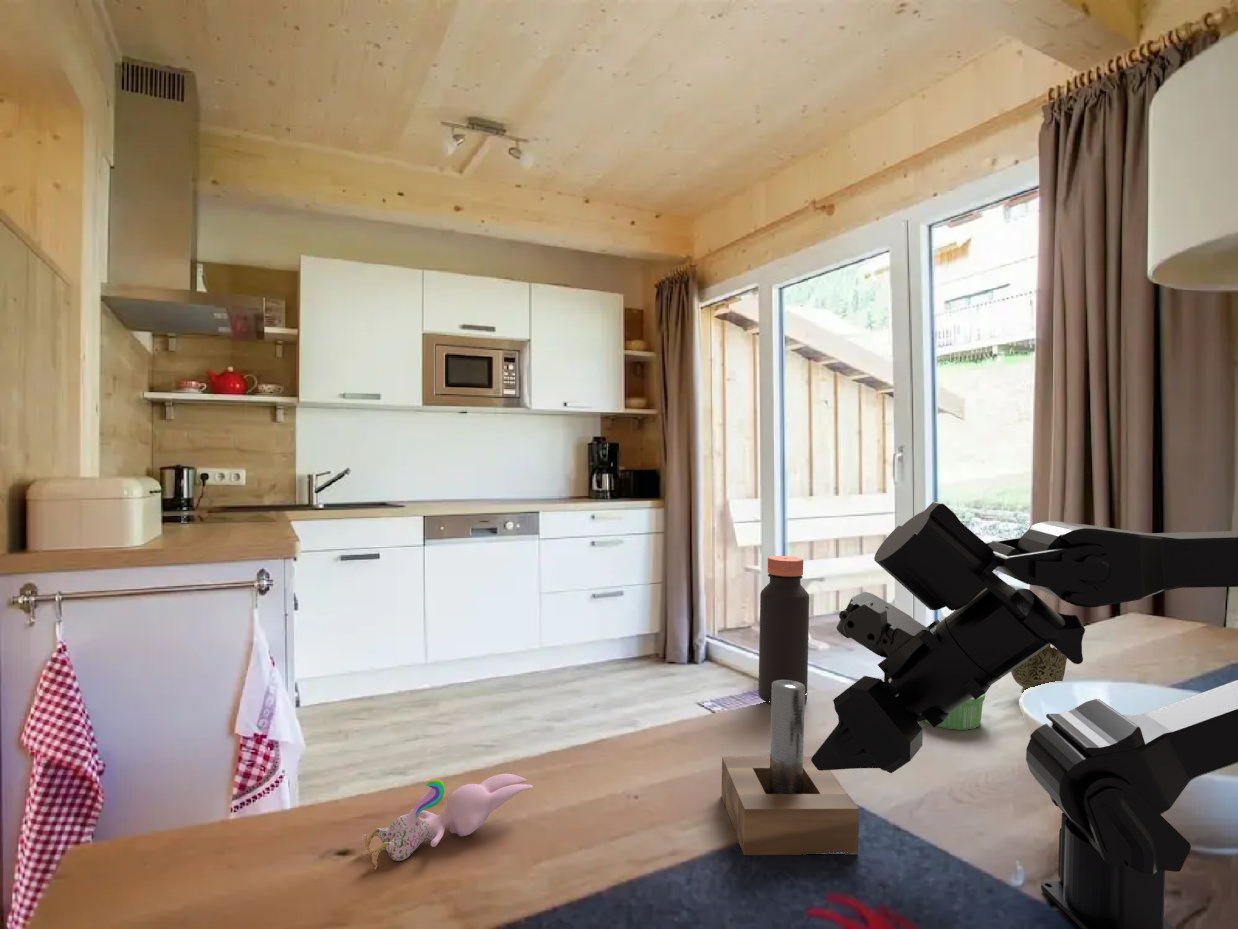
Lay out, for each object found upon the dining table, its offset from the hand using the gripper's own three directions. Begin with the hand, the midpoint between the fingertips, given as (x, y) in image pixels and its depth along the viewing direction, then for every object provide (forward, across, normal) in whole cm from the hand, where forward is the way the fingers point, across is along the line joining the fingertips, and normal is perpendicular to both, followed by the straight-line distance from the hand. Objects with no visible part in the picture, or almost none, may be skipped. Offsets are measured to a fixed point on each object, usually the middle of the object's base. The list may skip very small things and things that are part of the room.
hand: (835, 746), depth 60 cm
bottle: (+19, -30, -7) cm, 36 cm away
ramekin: (+6, -38, +7) cm, 39 cm away
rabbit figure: (+25, +21, -13) cm, 35 cm away
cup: (0, -54, +13) cm, 55 cm away
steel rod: (+9, 0, +3) cm, 10 cm away
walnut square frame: (+9, 0, +3) cm, 10 cm away
